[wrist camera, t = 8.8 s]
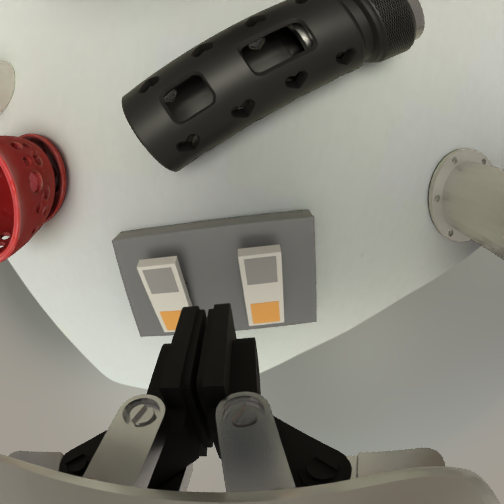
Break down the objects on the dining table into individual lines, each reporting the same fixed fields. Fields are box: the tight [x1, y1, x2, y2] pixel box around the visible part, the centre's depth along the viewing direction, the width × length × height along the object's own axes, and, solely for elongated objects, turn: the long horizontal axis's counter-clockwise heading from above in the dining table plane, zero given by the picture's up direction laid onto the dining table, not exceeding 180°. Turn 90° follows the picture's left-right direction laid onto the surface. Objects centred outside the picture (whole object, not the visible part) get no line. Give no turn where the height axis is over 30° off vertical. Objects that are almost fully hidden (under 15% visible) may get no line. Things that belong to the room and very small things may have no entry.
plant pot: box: [0, 134, 66, 262], centre depth 27 cm, size 13×13×12 cm
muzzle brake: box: [122, 0, 425, 172], centre depth 24 cm, size 10×28×10 cm, turn 122°
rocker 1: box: [137, 256, 192, 332], centre depth 33 cm, size 4×10×1 cm, turn 6°
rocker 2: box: [238, 244, 284, 326], centre depth 33 cm, size 4×10×1 cm, turn 6°
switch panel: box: [112, 210, 316, 337], centre depth 36 cm, size 22×13×4 cm, turn 96°
